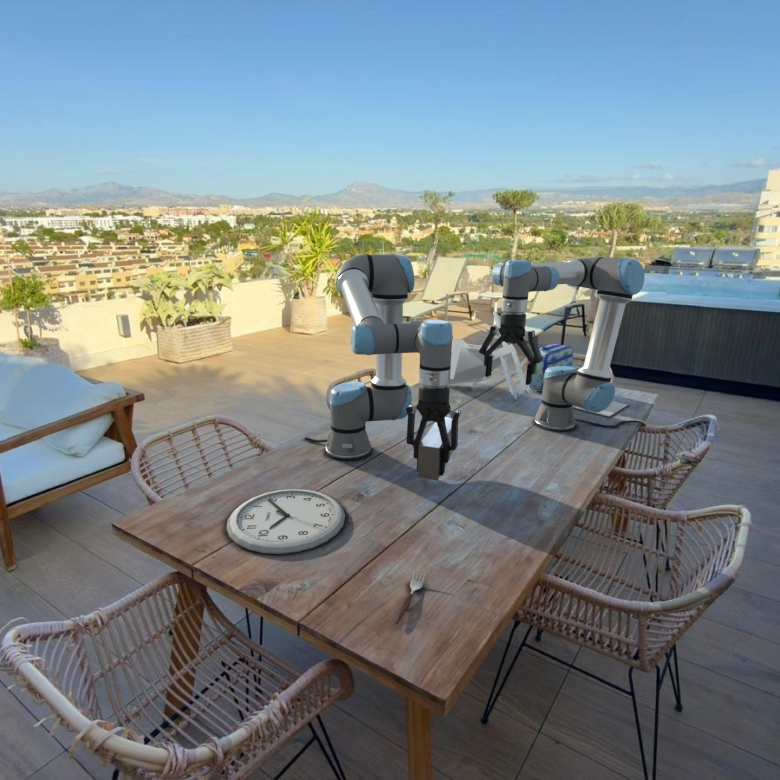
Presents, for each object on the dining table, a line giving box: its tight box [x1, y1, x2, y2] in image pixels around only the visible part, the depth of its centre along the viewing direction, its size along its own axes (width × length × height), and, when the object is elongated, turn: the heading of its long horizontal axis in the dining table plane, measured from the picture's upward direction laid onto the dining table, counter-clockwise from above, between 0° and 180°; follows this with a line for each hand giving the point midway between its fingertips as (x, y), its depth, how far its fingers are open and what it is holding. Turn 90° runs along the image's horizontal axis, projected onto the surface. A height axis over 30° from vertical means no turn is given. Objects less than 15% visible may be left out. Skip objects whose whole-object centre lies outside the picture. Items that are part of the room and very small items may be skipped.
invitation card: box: [573, 400, 629, 418], centre depth 226 cm, size 21×1×15 cm
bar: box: [417, 416, 455, 481], centre depth 140 cm, size 22×5×9 cm, turn 162°
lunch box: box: [528, 343, 574, 392], centre depth 248 cm, size 26×11×21 cm, turn 134°
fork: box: [396, 568, 427, 625], centre depth 107 cm, size 3×16×2 cm, turn 160°
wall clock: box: [226, 488, 346, 555], centre depth 135 cm, size 30×2×30 cm
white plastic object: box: [448, 310, 531, 400], centre depth 245 cm, size 37×45×31 cm
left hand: (430, 471), depth 134 cm, fingers closed on bar, 5 cm apart
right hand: (507, 380), depth 165 cm, fingers open, 13 cm apart
